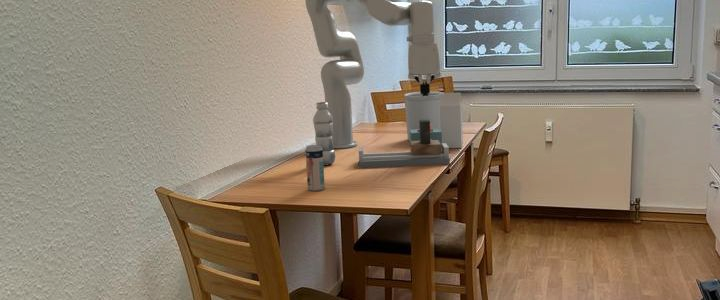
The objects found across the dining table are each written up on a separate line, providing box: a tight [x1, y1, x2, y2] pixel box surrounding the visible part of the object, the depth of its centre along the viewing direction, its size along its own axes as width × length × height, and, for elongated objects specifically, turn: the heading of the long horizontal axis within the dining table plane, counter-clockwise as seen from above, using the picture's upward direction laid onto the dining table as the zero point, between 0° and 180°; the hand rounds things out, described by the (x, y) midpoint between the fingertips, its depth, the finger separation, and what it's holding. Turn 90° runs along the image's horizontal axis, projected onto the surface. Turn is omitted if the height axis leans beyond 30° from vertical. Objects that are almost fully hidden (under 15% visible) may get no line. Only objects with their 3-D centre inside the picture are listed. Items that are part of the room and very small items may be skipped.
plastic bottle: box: [312, 101, 336, 166], centre depth 226 cm, size 6×7×20 cm
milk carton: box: [440, 92, 464, 149], centre depth 249 cm, size 7×7×19 cm
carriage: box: [409, 119, 441, 155], centre depth 224 cm, size 9×9×10 cm
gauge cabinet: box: [409, 128, 442, 150], centre depth 237 cm, size 10×8×8 cm
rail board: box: [358, 143, 451, 169], centre depth 225 cm, size 28×12×5 cm, turn 89°
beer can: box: [304, 144, 326, 192], centre depth 191 cm, size 5×5×12 cm
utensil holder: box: [403, 91, 444, 142], centre depth 268 cm, size 15×15×18 cm
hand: (425, 95), depth 234 cm, fingers closed
